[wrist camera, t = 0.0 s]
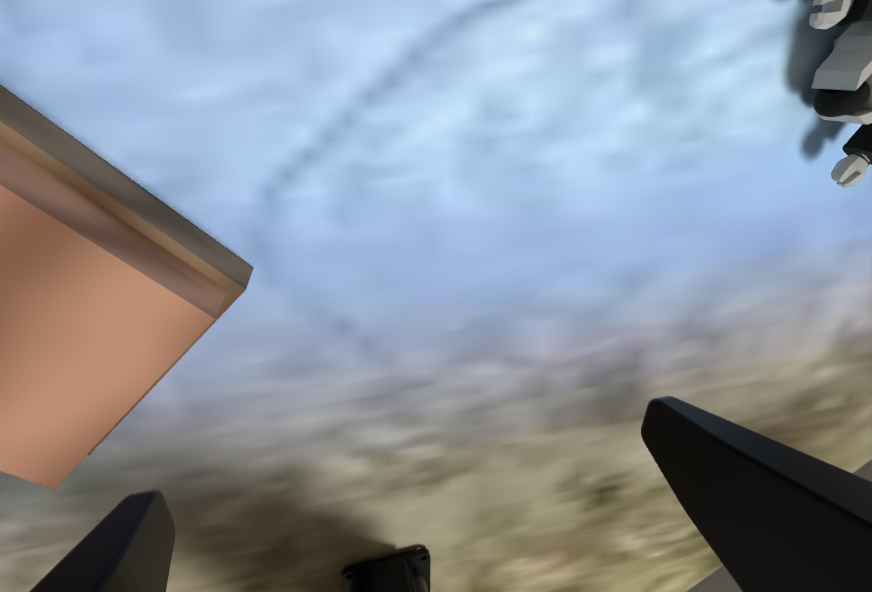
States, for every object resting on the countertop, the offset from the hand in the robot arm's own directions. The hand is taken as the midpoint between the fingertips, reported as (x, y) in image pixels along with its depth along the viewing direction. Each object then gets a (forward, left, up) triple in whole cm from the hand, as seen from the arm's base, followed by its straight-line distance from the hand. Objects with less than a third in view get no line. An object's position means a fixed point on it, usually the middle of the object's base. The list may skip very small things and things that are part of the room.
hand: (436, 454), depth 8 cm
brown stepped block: (-1, +13, -15) cm, 20 cm away
